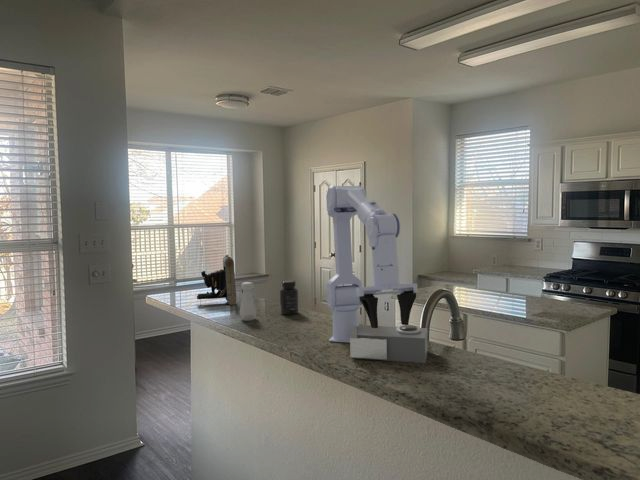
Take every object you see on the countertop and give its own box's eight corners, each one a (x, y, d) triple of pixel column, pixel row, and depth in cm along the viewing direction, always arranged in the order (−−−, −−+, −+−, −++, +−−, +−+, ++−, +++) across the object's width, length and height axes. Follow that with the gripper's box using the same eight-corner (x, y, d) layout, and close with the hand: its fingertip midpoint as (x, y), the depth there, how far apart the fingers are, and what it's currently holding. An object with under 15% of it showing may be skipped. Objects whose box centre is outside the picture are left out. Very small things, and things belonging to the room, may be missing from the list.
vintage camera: (197, 304, 193) (193, 257, 192) (234, 300, 198) (231, 254, 196) (198, 309, 184) (194, 260, 182) (237, 305, 189) (234, 256, 187)
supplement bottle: (278, 312, 172) (277, 280, 171) (295, 310, 175) (294, 279, 174) (283, 316, 166) (282, 283, 165) (301, 314, 168) (300, 281, 167)
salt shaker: (258, 320, 160) (257, 283, 159) (241, 322, 158) (240, 284, 157) (254, 316, 165) (253, 280, 165) (238, 318, 163) (237, 282, 163)
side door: (351, 355, 115) (350, 325, 115) (387, 358, 113) (386, 326, 112) (350, 357, 114) (349, 326, 114) (386, 359, 112) (386, 327, 111)
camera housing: (359, 347, 125) (359, 321, 125) (427, 351, 120) (427, 324, 120) (351, 358, 115) (350, 330, 115) (425, 363, 110) (424, 334, 110)
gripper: (363, 267, 100) (367, 330, 99) (422, 263, 104) (427, 324, 103) (351, 268, 106) (355, 328, 105) (407, 265, 111) (411, 322, 110)
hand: (389, 326), depth 105 cm, fingers open, 7 cm apart
